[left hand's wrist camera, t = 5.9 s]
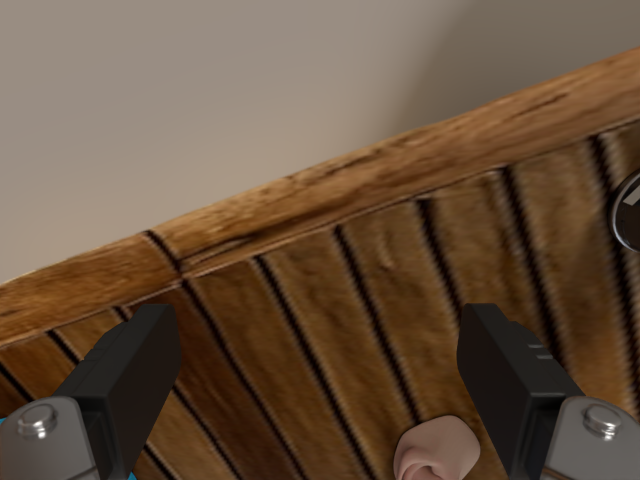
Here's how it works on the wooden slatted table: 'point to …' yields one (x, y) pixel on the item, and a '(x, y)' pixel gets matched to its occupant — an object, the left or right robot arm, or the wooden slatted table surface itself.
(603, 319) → the wooden slatted table surface
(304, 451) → the wooden slatted table surface
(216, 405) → the wooden slatted table surface
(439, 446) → the anatomical model
